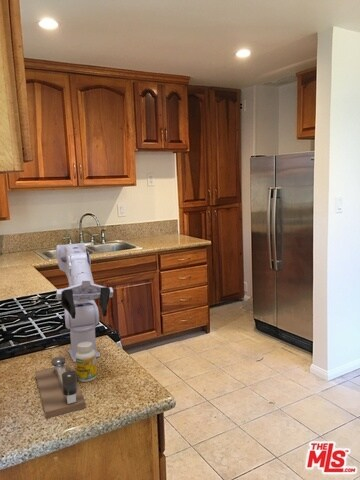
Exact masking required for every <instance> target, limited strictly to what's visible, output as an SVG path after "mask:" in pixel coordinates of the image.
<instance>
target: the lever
mask: <svg viewBox="0 0 360 480" xmlns="http://www.w3.org/2000/svg"><path fill="white" fill-rule="evenodd" d="M64 365H66V357H63V356H57V357H54V358H52V359H51V366H53V367H55V371H56V374H57V376H58V379H59V382H60V385H61V387H62V390H63V394H64V396H65V398H66V401H67V404H70V403H74V402H76V392H77V384H78V382H77V371H75V370H71V371H67V372H66V370H65V367H64Z"/></svg>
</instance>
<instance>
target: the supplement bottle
mask: <svg viewBox="0 0 360 480" xmlns="http://www.w3.org/2000/svg"><path fill="white" fill-rule="evenodd" d="M92 348H93V346H92V342H88V341H86V342H81V343H79V344H78V345H77V350H78V352H77V353H76V355H75V357H76V362H75V369H76V379H77V380H78V381H79V382H82V383H87V382H92V381H93V380H96V378H97V377H98V367H97V358H96V352H95V351H94V350H93V349H92Z"/></svg>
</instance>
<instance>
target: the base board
mask: <svg viewBox="0 0 360 480" xmlns="http://www.w3.org/2000/svg"><path fill="white" fill-rule="evenodd" d="M63 365H64V367H65V370H66V372H67V371H72V369H71V367H70V365H69V364H68V363H67V364H63ZM34 372H35V373H34V374H35V381H36V384H37V388H38V393H39V395H40V399H41V404H42V408H43V411H44V416H45V419H49V418H52V417H57V416H60V415H64V414H67V413H71V412H75V411H78V410H83V409H85V408H87V406H86V400H85V398H84V396H83V393H82V392H81V389H80V387H79V384H78V383H77V392H76V402H74V403H70V404H67V401H66V398H65V396H64V394H63V390H62V387H61V385H60V382H59V379H58V376H57V374H56V371H55V367H54V366H53V367H50V368H45V369H41V370H36V371H34Z"/></svg>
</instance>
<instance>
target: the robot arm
mask: <svg viewBox="0 0 360 480" xmlns="http://www.w3.org/2000/svg"><path fill="white" fill-rule="evenodd" d="M55 249H56V258H57V259H56V260H57V264H58V266H57V267H58V268H59V270H60V271H62V272H64V273H65V276H66V278H67V280H68V287H65V288H60V289H56V295H55V297H56V301H61V302H60V304H61V308H63V309H64V312H63V313H64V321H65V322H64V323H65V328H66V329H67V330H70V331H69V335H70V336H69V338H70V347H71V348H70V349H68V354H69V356H70V358H71V360H72V362H73V363H76V357H75V355H76V353H77V352H78V350H77V345H78V344H79V343H81V342H86V341H88V342H92V346H93V348H92V349H93V350H94V351H95V352H96V359H97V358H100V357H101V355H100V353H99V352H98V350H97V343H96V326H97V325H98V324H99V323H100V312H99V307H98V306H100V309H101V312H102V316H103V317H107V315H108V314H107V313H108V308H107V307H108V305H109V300H110V298H113V296H114V290H113V287H106V286H104V285H100V284H95V280H94V278H93V273H92V269H91V268H92V265H91V263H92V262H91V255H90V252H89V251H87V248H86V244H85V243H84V242H80V243H67V244H57V245H56V248H55ZM96 299H99V304H98V305H97V303H96V302H95V300H96Z"/></svg>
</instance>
